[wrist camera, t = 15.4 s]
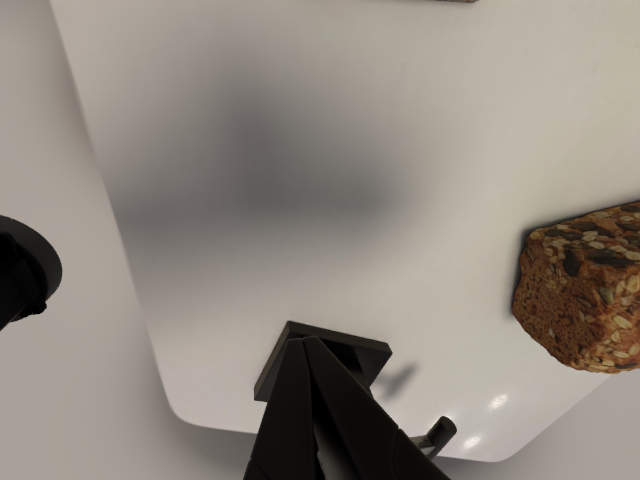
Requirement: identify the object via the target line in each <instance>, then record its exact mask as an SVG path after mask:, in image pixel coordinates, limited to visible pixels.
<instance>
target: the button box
mask: <svg viewBox="0 0 640 480" xmlns="http://www.w3.org/2000/svg"><path fill="white" fill-rule="evenodd" d="M442 1H457V2H472V3H473V2H476V1H478V0H442Z"/></svg>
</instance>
